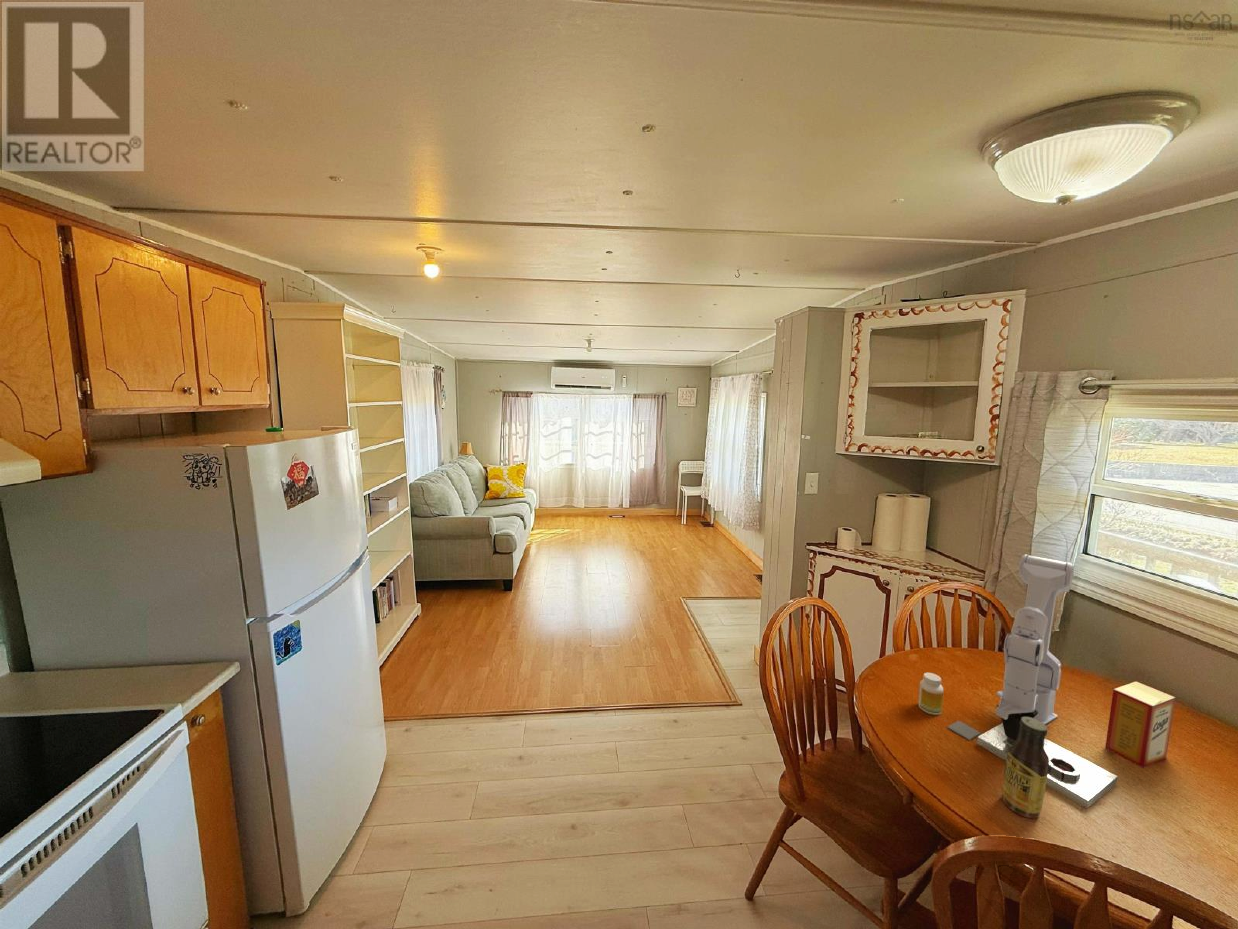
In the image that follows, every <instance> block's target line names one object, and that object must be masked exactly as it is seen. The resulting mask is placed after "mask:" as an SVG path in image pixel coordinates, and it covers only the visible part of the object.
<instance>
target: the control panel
mask: <svg viewBox="0 0 1238 929" xmlns="http://www.w3.org/2000/svg"><path fill="white" fill-rule="evenodd" d="M1006 740H1007V736H1006V735H1005V732H1004V727H1003V723H1000V724H998V725H996V726H994V727H993V728H991V729H990V730H987V731H986V732H984V733H982V734H980V735H978V736H977V740H976V741H977V742H976V744H977V745H978V746H980V747H982V748H983V749H985V750H987V751H988V752H990V753H992V754H993V755H995V756H996V757H998V758H1001V759H1002V760H1003V761H1005V762H1006V761H1007V755H1008V750H1009V749H1010V748H1011V746H1009V745H1008V744H1006V743H1005V741H1006ZM1044 750H1045V752H1046V754H1047V756H1048V758H1049V765H1048V775H1047V781H1046V786H1048V787H1049V788H1051V789H1052V790H1054V791H1056V790H1057V791H1056V792H1058V793H1059V792H1060V793H1059V794H1061V795H1063V796H1065V797H1066V798H1068V799H1070V800H1072V802H1075V803H1076V804H1078V805H1080V806H1081V807H1083V808H1085V809H1089V808H1090V807H1091V806H1093V805H1094V804H1095V803H1096V802H1097V801H1099V800H1100V799H1101V798H1102V797H1103V796H1105V794H1107V793H1108V792H1109V791H1110V790H1112V789H1113V788H1114V787H1116V786H1117V782H1118V775H1116V774H1114V773H1112V772H1109V771H1108V770H1106V769H1105V768H1103V767H1100V766H1099V765H1096V764H1094V763H1093V762H1091V761H1089V760H1087V759H1085V758H1084V757H1083V758H1082V757H1081V756H1079V755H1077V754H1076V753H1073V752H1072V751H1070V750H1067V749H1065V748H1064V747H1061V746H1060V745H1058V744H1056V743H1054V742H1052V741H1051V740H1048V739H1046V738H1045V739H1044ZM1057 767H1060V768H1063V769H1065V770H1066V771H1063V770H1061V769H1059V768H1057Z"/></svg>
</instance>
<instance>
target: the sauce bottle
mask: <svg viewBox="0 0 1238 929" xmlns="http://www.w3.org/2000/svg"><path fill="white" fill-rule="evenodd" d="M1020 726H1021V728H1020V734H1019V737H1018V738H1017V740H1016V741H1015V742H1014V743H1013V745H1012V746H1011V748H1010V749H1009V750H1008V755H1007V761H1005V769H1004V772H1003V779H1002V786H1001V798H1002V801H1003V802H1004V805H1006V807H1007V808H1009V809H1010V810H1012V811H1013V812H1015V813H1016V814H1018V815H1019V816H1021V817H1024V818H1029V819H1036V818H1038V817H1039V816H1040V814H1041V812H1042V808H1043V802H1044V797H1045V792H1046V786H1047V785H1046V781H1047V775H1048V765H1049V758H1048V756H1047V754H1046V752H1045V750H1044V739H1046V736H1047V735H1048V726H1047V724H1044V723H1042V722H1040V721H1039V720H1037V719H1034V718H1031V717H1022V718H1021V720H1020Z"/></svg>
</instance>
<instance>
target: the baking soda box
mask: <svg viewBox="0 0 1238 929" xmlns="http://www.w3.org/2000/svg"><path fill="white" fill-rule="evenodd" d="M1176 698H1177V697H1176V696H1173V695H1171V694H1169V693H1165V692H1164V691H1161V690H1159V689H1156V688H1154V687H1151V686H1149V685H1146V684H1144V683H1142V682H1140V681H1132V682H1130V683H1128V684H1127V683H1126V684H1125V685H1121V686H1119V687H1117V688H1116V687H1115V688H1114V689H1113V690H1112V697H1111V706H1110V711H1109V720H1108V726H1107V734H1106V740H1105V749H1107V750H1108V751H1110V752H1111V753H1114V754H1116V755H1118V756H1119V757H1122V758H1123V759H1125V760H1126V761H1128V762H1130V763H1133V764H1134V765H1136V766H1138V767H1141V769H1144V768H1147V767H1149V766H1151V765H1153V764H1155V763H1158V762H1160V761H1162V760H1164V759H1167V756H1168V748H1169V742H1170V737H1171V729H1172V725H1173V724H1172V723H1173V717H1174V711H1175V705H1176Z"/></svg>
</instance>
